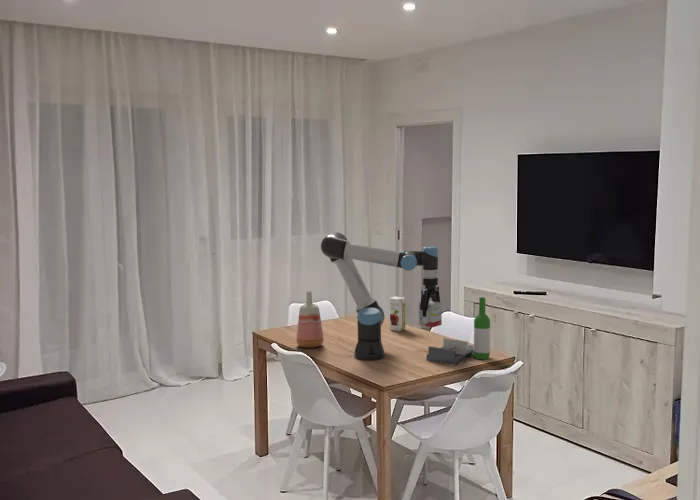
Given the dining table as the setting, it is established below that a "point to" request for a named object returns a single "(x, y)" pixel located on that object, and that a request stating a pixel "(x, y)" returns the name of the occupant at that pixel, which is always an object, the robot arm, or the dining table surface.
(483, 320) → the wine bottle
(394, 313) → the juice carton
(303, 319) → the vase
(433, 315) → the ink box
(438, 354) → the dark grey tray
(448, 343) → the block
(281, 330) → the dining table surface
